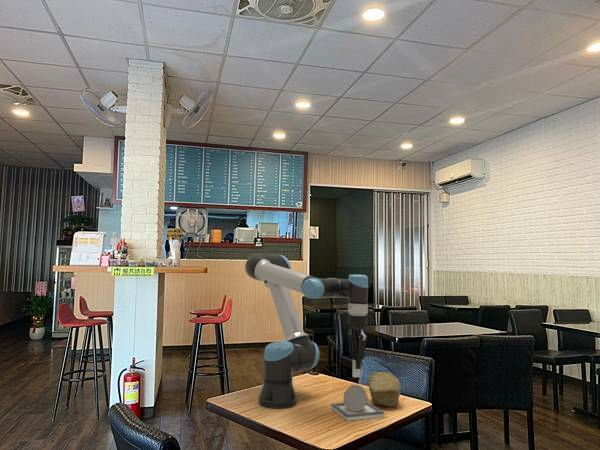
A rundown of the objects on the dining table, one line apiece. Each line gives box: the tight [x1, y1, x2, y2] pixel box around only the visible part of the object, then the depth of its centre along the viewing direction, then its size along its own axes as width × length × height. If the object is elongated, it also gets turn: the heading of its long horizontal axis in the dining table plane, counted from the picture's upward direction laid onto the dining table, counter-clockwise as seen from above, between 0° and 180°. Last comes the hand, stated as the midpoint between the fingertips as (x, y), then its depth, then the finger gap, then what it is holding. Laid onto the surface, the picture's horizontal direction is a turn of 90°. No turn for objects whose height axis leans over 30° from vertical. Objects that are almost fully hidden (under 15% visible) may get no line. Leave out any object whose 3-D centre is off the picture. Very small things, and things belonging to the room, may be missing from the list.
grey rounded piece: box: [343, 384, 369, 412], centre depth 168 cm, size 10×10×10 cm
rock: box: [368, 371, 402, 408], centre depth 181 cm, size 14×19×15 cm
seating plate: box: [330, 401, 385, 422], centre depth 168 cm, size 15×15×2 cm
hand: (356, 376), depth 170 cm, fingers closed
